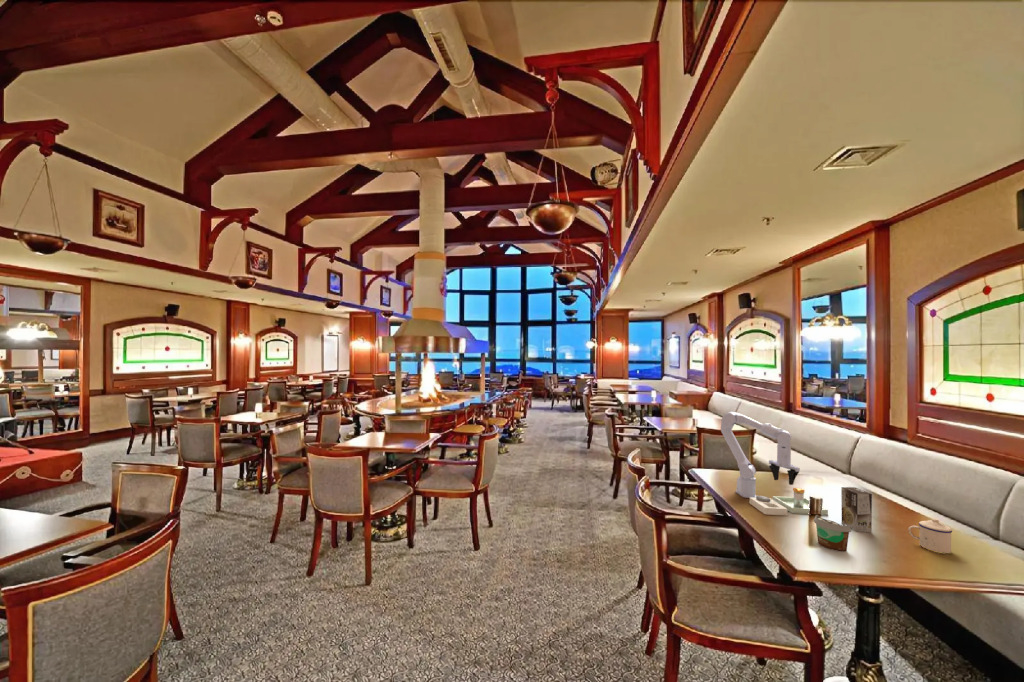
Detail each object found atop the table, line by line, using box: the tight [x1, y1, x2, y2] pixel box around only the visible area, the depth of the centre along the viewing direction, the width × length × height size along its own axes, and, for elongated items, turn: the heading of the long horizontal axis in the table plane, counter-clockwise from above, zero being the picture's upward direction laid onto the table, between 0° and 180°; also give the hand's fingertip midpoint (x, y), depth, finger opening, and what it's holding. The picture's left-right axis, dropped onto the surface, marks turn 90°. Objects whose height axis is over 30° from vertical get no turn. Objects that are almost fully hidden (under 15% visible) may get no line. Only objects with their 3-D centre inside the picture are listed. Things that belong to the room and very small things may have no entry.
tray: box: [772, 495, 829, 516], centre depth 201 cm, size 16×16×2 cm
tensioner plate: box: [749, 495, 788, 516], centre depth 198 cm, size 14×10×4 cm
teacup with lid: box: [908, 517, 953, 554], centre depth 162 cm, size 12×9×12 cm
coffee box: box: [840, 486, 873, 533], centre depth 180 cm, size 9×6×16 cm
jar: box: [792, 487, 806, 508], centre depth 201 cm, size 5×5×8 cm
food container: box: [813, 515, 852, 553], centre depth 160 cm, size 12×6×10 cm, turn 22°
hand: (783, 482), depth 208 cm, fingers open, 7 cm apart
